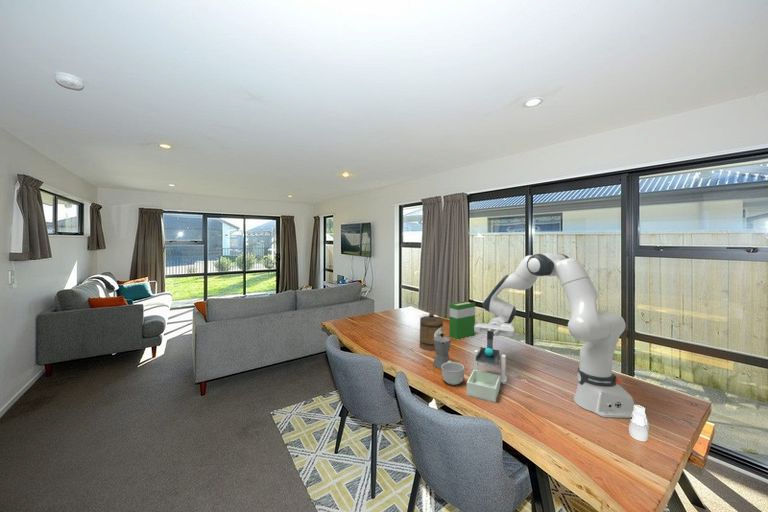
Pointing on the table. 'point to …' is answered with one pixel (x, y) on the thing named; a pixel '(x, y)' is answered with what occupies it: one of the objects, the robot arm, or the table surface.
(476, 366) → the lever frame
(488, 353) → the ball
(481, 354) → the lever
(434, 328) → the wooden container
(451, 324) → the cereal box
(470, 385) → the bin
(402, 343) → the table surface
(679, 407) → the table surface
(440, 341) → the coffeepot
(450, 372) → the teacup
